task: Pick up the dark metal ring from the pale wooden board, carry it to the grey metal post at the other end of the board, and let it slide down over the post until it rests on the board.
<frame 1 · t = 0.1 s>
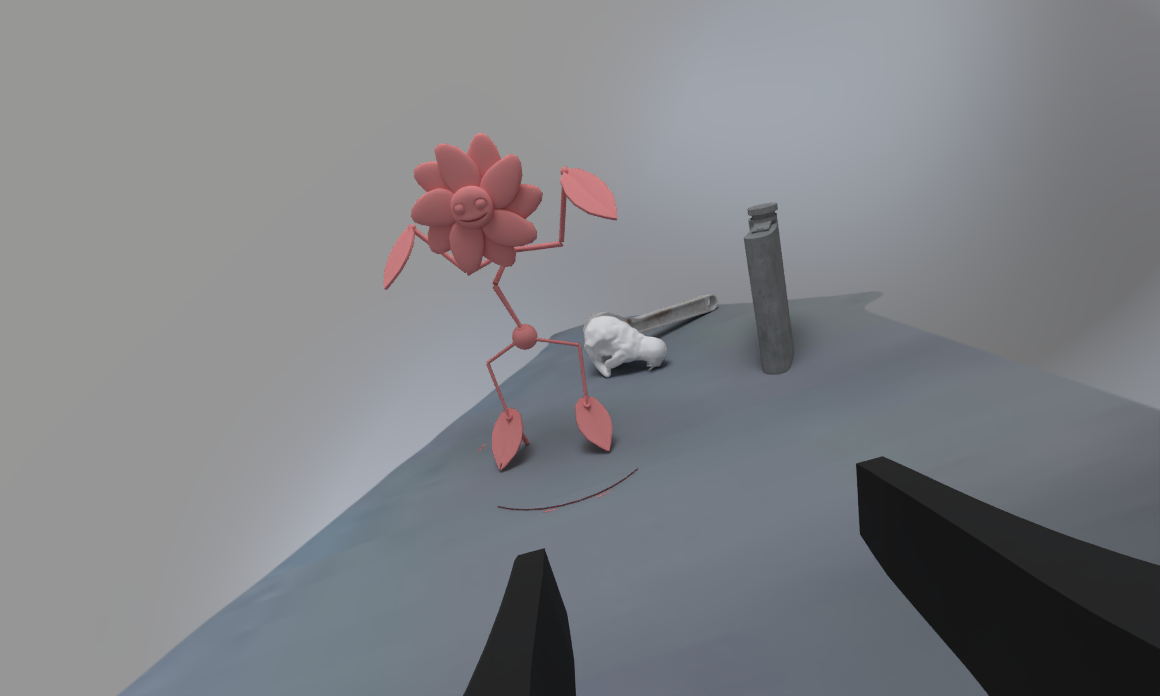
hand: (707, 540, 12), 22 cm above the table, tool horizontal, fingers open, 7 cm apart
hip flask: (779, 351, 75), on the table
figurine: (552, 470, 60), on the table
white lumpy shape: (632, 370, 82), on the table, touching wrench
wrench: (660, 337, 92), on the table, touching white lumpy shape
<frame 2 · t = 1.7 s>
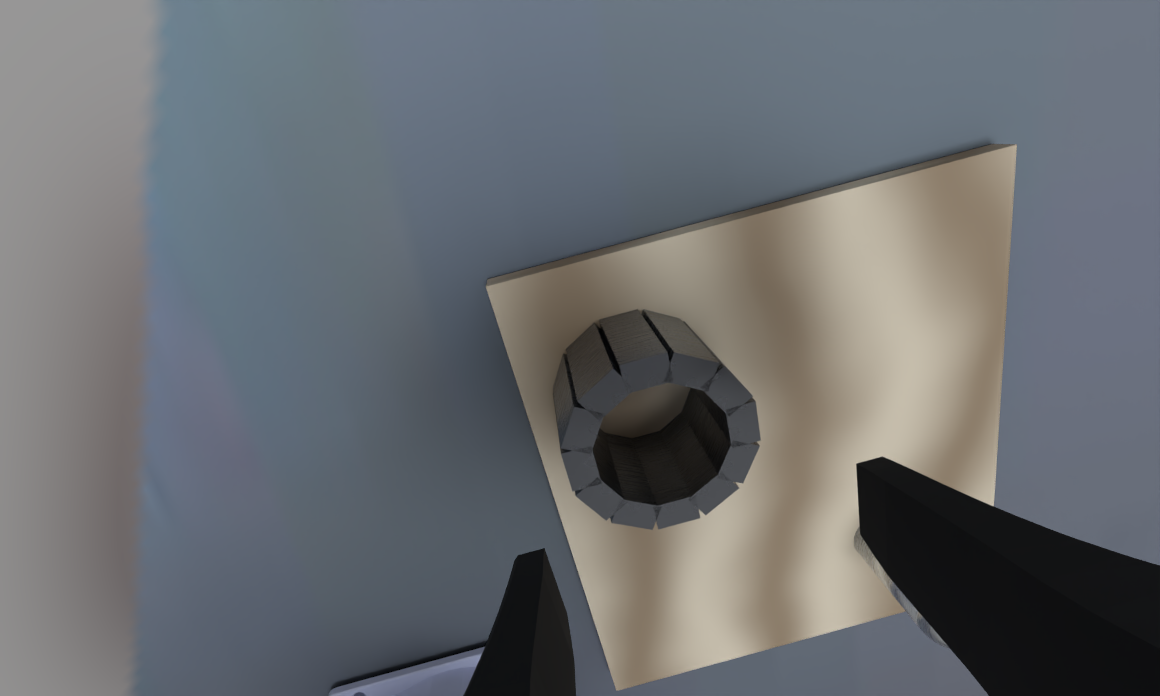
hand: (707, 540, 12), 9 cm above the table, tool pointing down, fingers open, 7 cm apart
ring: (635, 388, 19), point 1 cm above the table, touching board
post: (868, 519, 24), resting on board
board: (771, 451, 22), on the table
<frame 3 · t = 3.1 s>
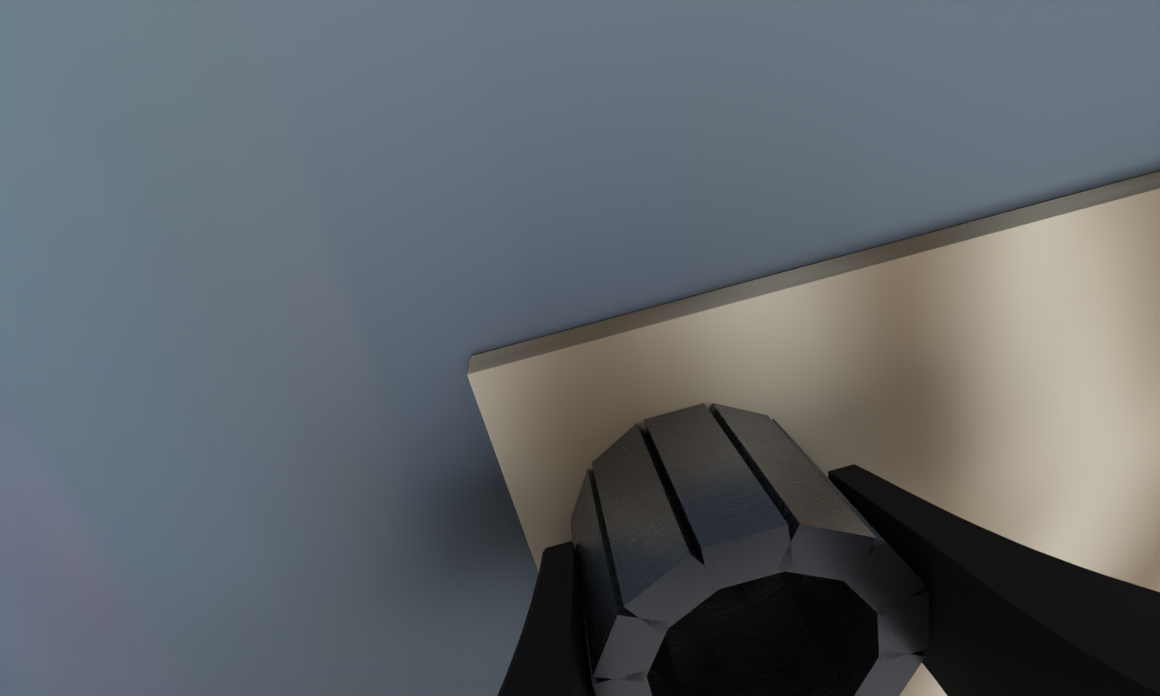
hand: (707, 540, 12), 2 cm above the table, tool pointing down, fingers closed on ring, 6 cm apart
ring: (694, 514, 13), point 1 cm above the table, touching board, gripper
board: (876, 580, 16), on the table
when the fingers open (4 cm above the table, at t = 8.3 s): ring drops 2 cm, resting on board.
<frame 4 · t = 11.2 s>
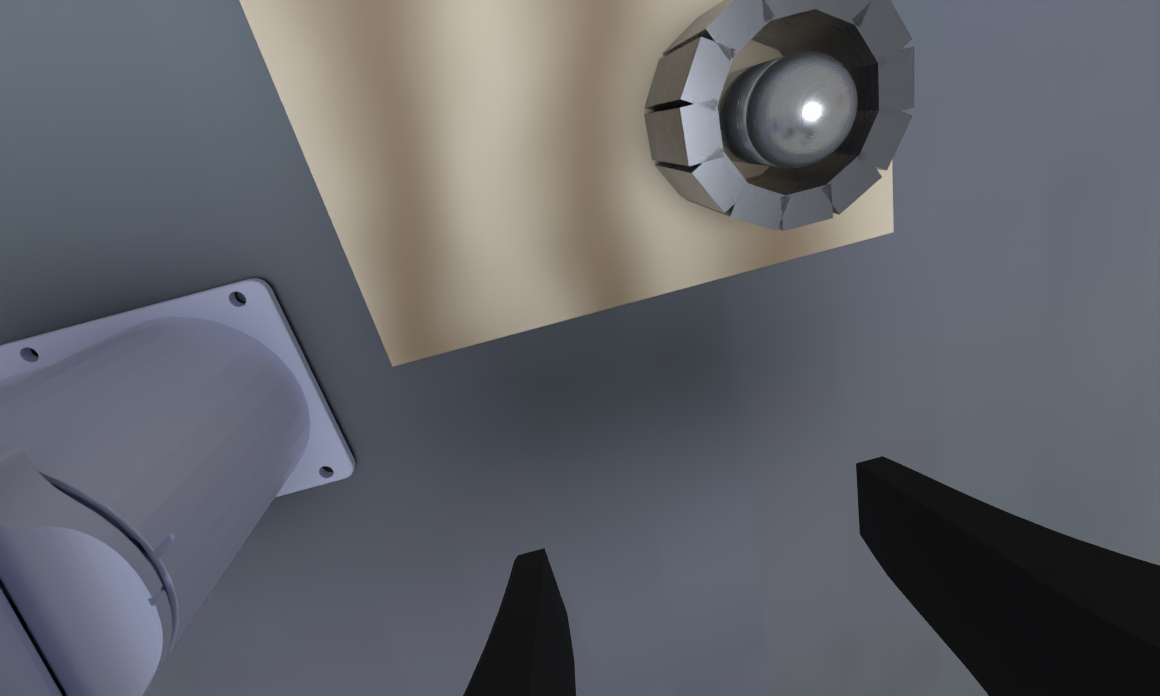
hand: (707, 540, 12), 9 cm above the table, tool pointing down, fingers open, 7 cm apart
ring: (737, 113, 17), point 1 cm above the table, touching board
post: (725, 118, 18), resting on board
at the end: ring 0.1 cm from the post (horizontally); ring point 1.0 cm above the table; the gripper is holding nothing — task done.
